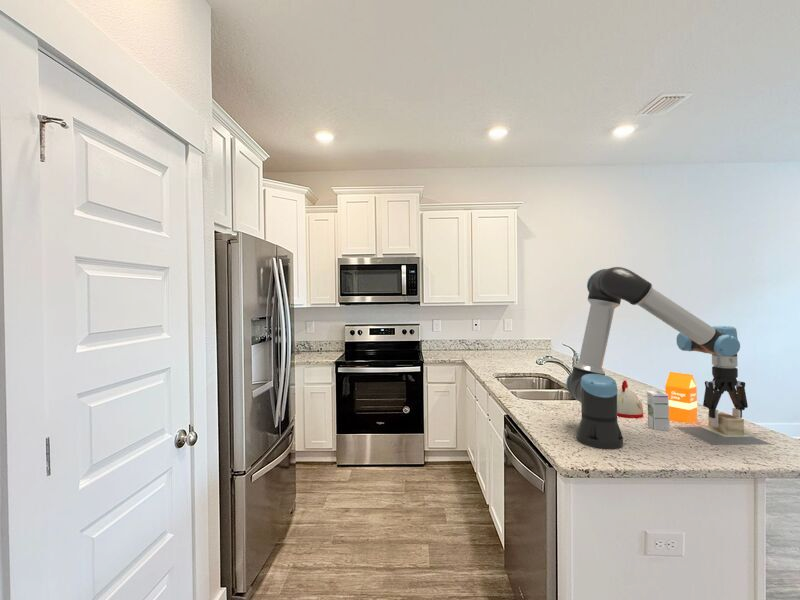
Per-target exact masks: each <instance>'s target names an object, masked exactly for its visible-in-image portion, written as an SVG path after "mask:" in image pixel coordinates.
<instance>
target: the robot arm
mask: <svg viewBox="0 0 800 600" xmlns="http://www.w3.org/2000/svg"><path fill="white" fill-rule="evenodd" d="M586 289H587V291H588V295H587V302H588V303H589V304H590V306H589V312H588V317H587V320H586V325H585V331H584V335H583V338H582V340H583V341H582V344H581V350H580V353H579V359H578V362H577V363H575V364H573V367H572V372H570V373H569V375H568V376H567V377H566V383H565V384H566V385H565V386H566V390H567V391H568V394H569V395H570V396H571V397H572V398H573V399H575V400H576V401H578V402H579V403H580V405H581V406H580V407H581V410H580V411H581V419H580V421H579V425H578V427H577V430H576V440H577V442H579V443H581V444H584V445H587V446H590V447H593V448H598V449H620V448H623V446H624V436H623V435H622V431H621V428H620V425H619V422H618V417H617V392H618V389H619V388H618V384H617V381H616V380H615V379H614V378H613V377H611V376H608V375H606V372H605V370H604V369H603V364H604V360H605V356H606V351H607V350H606V349H607V347H608V340H609V336H610V331H611V328H612V327H611V326H612V323H613V317H614V313H615V309H616V308H618V307H620V305H621V301H622V300H624V301H625V302H627V303H629V304H630V305H633V306H639V307H640V308H642V309H643V310H645V311H646V312H648V313H650V314H651V315H653V316H654V317H656V318H657V319H659V320H661V321H662V322H663V323H665V324H666V325H668V326H669V327H672V329H674V330H675V331H677V332H679V333H678V334H677V336H676V345H677V347H678V349H679V350H681V351H683V352H684V351H685V352H700V353H704V354H709V355H711V365H712V367H711V375H712V377H713V379H712V380H710V381H707V380H705V381H704V385H705V391H704V396H703V403H702V406H703V407H704V408H707V409H708V413H709V417H711V426H714V427H718V413H719V410H718V409H717V408H718V405H719V402H720V400H721V397H722V395H723V394H724V392H727V394H728V395H729V397H730V400H731V402H732V405H733V407H732V410H731V411H732V412H731V413H732V414H731V415H732V416H735V417H738V418H741V419H743V411H745V409H747V408H748V407H749V405H748V401H747V396H746V395H747V394H746V382H745V381H740V380H737V378H738V375H739V373H738V368H737V367H738V353H739V351H740V350H741V342H740V341H739V339H738V331H737V328H736V327H734V326H729V325H728V326H727V325H715V326H711V325H710V324H708V323H707V322H705V321H704V320H702V319H701V318H699V317H697V316H696V315H694V314H693V313H692V312H690V311H688V310H687V309H685V308H684V307H682V306H681V305H679V304H678V303H676V302H675V301H673V300H672V299H670V298H669V297H667V296H665V295H663V294H662V293H660V292H659V291H657V290H656V289H655V288H653V284H652V283H651V282H649V281H648V280H646V279H645V278H643V277H642V276H640V275H638V274H637V273H635V272H634V271H633V270H630V269H627V268H626V267H622V266H613V267H610V268H601V269H599V270H597V271H595V272H594V273H592V274H591V275H590V276H589V278H588V279H587V282H586Z"/></svg>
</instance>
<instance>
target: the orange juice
mask: <svg viewBox="0 0 800 600" xmlns="http://www.w3.org/2000/svg"><path fill="white" fill-rule="evenodd" d="M695 381H696V380H695V378H694V376H693V374H689V373H681V372H673V371H669V372H668V376H667V379H666V383H665V387H664V388H665V389H664V391H665V392H664V393H666V394H668V399H669V421H671V420H672V422H677V423H687V424H692V423H697V422H698V394H697V391H698V388H697V387H698V386H697V383H696V382H695Z"/></svg>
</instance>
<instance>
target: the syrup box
mask: <svg viewBox="0 0 800 600" xmlns="http://www.w3.org/2000/svg"><path fill="white" fill-rule="evenodd" d="M646 393H647V394H646V398H647V399H646V401H647V403H646V404H647V425H648V427H649V428H651V429H652V430H655V431H671V430H670V420H669V399H668V394H666V393H665V392H664V391H661V390H659V391H658V390H647V391H646Z"/></svg>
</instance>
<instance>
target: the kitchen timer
mask: <svg viewBox="0 0 800 600" xmlns="http://www.w3.org/2000/svg"><path fill="white" fill-rule="evenodd" d="M628 385H629V384H628V382H627V380H625V379H624V380H623V381H622V384H621V387H620V388H617V389H618V392H617V416H618V417H619V418H624V419H634V418H635V419H642V418H644V407H643V402H642V399H640V398H639V397H638V395H637V393H635V392H634V391H633V390H632V389H630V388H629V386H628ZM618 417H617V418H618Z"/></svg>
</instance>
